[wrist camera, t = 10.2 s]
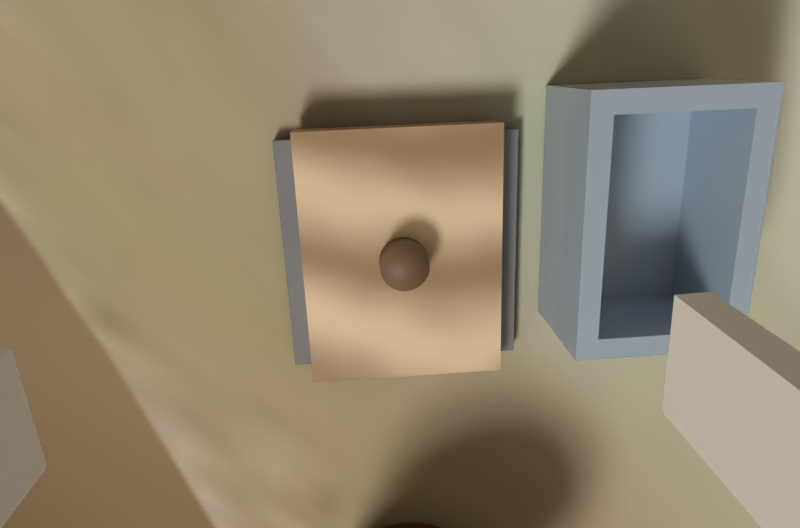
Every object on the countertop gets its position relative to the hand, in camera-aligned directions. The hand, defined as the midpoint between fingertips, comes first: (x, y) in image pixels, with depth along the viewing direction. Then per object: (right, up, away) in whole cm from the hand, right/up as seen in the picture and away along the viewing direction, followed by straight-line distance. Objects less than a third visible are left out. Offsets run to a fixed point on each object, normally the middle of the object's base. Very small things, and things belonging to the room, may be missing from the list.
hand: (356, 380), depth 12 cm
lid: (+1, +3, +19) cm, 19 cm away
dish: (+12, +6, +20) cm, 24 cm away
